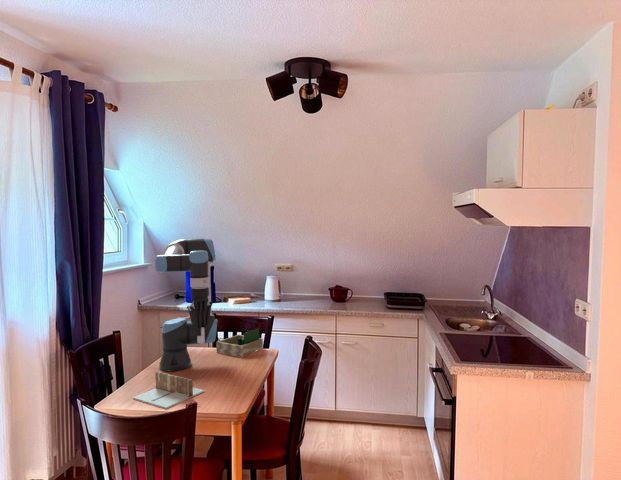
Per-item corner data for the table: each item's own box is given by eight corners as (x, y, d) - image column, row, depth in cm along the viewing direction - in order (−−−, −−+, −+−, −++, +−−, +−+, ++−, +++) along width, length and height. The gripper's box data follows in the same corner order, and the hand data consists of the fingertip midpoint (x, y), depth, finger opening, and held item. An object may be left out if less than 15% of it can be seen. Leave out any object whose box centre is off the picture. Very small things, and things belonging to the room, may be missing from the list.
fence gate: (173, 392, 183) (173, 376, 182) (177, 391, 184) (176, 375, 184) (190, 397, 177) (190, 380, 177) (193, 395, 179) (193, 379, 178)
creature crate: (216, 352, 241) (216, 341, 241) (238, 344, 257) (238, 334, 256) (241, 357, 232) (241, 346, 232) (262, 349, 247) (262, 338, 247)
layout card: (132, 398, 179) (132, 397, 179) (171, 383, 196) (171, 381, 196) (166, 409, 169) (166, 407, 169) (204, 391, 186) (204, 390, 186)
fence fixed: (154, 389, 189) (154, 371, 188) (158, 388, 190) (158, 370, 190) (172, 394, 183) (172, 376, 182) (176, 393, 184) (176, 374, 184)
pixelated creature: (243, 346, 253) (242, 326, 253) (259, 349, 247) (258, 328, 246) (228, 352, 243) (228, 330, 243) (244, 355, 237) (244, 333, 236)
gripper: (194, 290, 178) (196, 348, 179) (217, 285, 189) (218, 340, 190) (181, 288, 181) (183, 345, 182) (204, 284, 193) (205, 338, 194)
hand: (201, 342), depth 186 cm, fingers closed
